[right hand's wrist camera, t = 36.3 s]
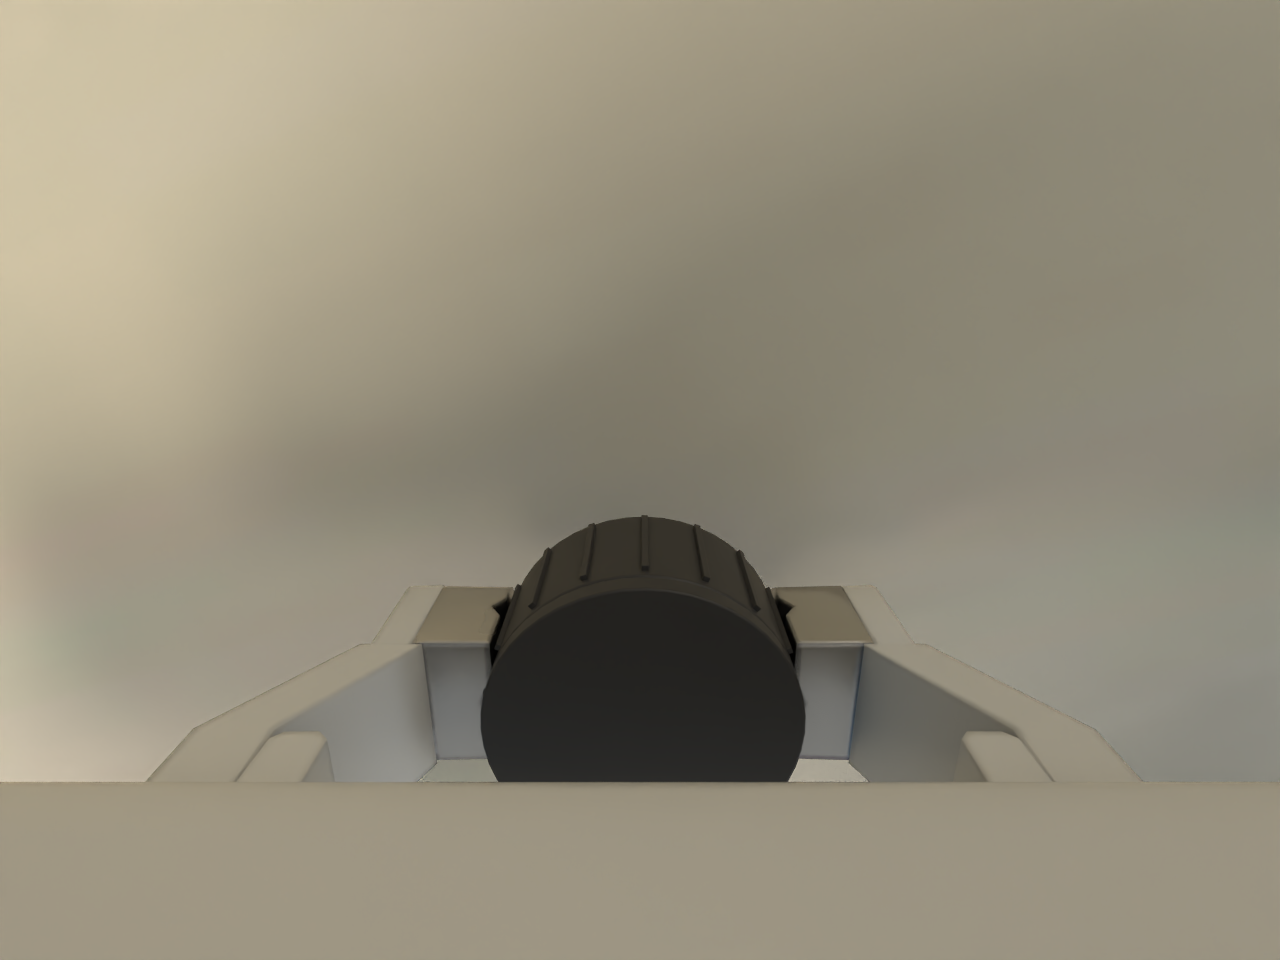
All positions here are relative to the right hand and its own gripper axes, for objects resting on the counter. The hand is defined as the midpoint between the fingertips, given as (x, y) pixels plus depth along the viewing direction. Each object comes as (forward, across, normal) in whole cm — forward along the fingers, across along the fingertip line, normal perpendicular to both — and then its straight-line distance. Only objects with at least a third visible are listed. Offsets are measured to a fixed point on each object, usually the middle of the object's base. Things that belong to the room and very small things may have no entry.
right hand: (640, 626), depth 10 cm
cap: (-2, 0, 0) cm, 2 cm away
